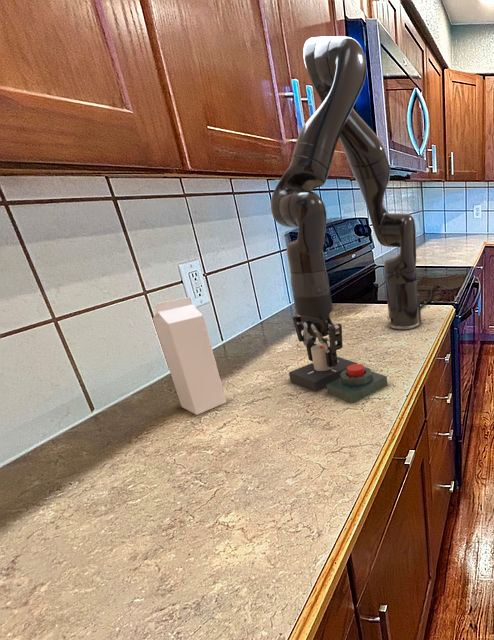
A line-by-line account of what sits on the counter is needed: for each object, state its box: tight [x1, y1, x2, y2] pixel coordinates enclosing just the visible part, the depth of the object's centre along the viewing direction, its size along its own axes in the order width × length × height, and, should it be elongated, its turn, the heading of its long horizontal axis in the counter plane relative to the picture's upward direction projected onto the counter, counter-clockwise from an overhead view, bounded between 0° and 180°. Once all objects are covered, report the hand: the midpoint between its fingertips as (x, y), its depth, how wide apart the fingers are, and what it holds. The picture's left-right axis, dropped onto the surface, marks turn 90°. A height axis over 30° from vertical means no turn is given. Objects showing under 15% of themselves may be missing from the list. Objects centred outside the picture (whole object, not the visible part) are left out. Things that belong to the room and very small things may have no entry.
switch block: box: [326, 366, 389, 404], centre depth 91 cm, size 10×8×4 cm
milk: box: [152, 296, 227, 416], centre depth 81 cm, size 6×6×22 cm
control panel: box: [288, 356, 358, 393], centre depth 97 cm, size 12×9×3 cm
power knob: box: [311, 343, 333, 371], centre depth 96 cm, size 4×4×5 cm
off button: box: [347, 363, 365, 377], centre depth 90 cm, size 4×4×2 cm
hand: (323, 362), depth 96 cm, fingers open, 6 cm apart
